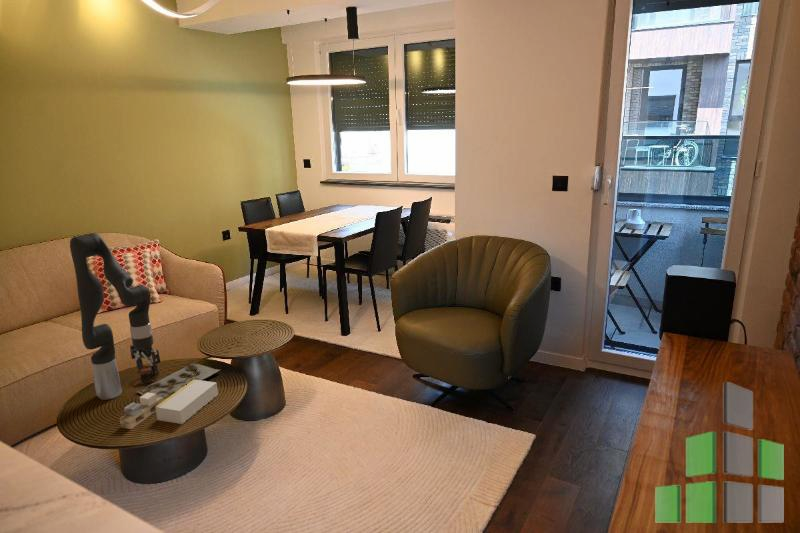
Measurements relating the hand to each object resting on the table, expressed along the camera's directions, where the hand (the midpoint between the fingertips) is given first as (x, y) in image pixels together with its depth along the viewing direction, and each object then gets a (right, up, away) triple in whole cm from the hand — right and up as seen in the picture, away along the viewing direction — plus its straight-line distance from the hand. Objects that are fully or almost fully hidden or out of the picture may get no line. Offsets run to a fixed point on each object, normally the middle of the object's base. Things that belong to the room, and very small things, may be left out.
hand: (147, 370), depth 206 cm
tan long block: (-3, -20, +3) cm, 21 cm away
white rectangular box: (+13, -17, +10) cm, 24 cm away
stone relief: (0, -13, +30) cm, 33 cm away
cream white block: (-2, -15, +6) cm, 16 cm away
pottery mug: (-16, -12, +35) cm, 40 cm away
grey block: (-5, -17, -2) cm, 18 cm away
